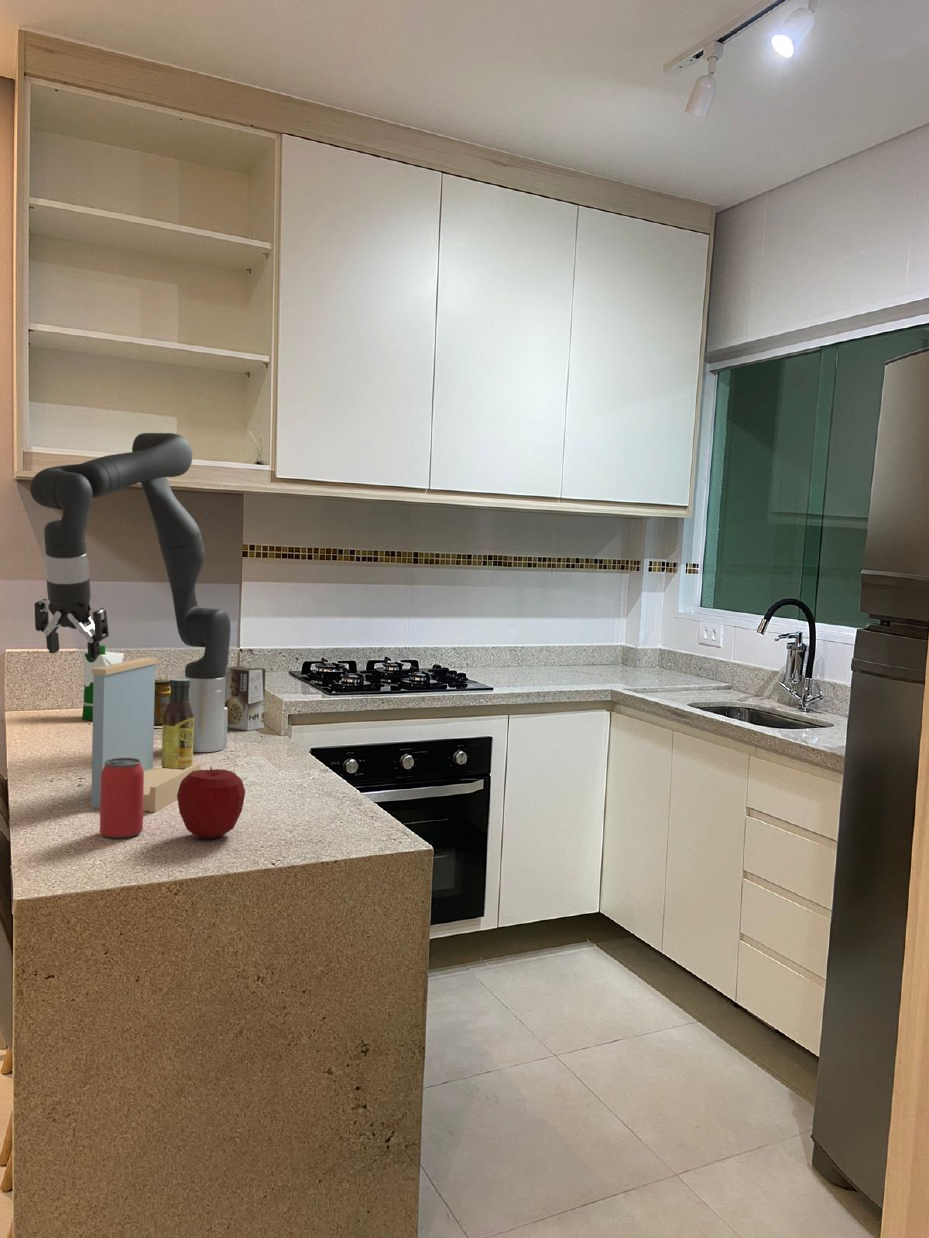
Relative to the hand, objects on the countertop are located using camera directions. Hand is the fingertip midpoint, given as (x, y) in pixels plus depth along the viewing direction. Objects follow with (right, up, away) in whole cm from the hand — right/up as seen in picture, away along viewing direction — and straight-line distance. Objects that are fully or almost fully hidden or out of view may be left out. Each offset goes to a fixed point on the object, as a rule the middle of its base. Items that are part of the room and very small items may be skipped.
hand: (73, 655), depth 179 cm
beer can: (+20, -28, -29) cm, 45 cm away
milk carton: (-22, -20, +70) cm, 76 cm away
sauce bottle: (+16, -25, +13) cm, 33 cm away
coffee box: (+17, -22, +67) cm, 73 cm away
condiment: (-5, -21, +64) cm, 68 cm away
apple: (+34, -29, -28) cm, 53 cm away
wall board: (+16, -26, -5) cm, 31 cm away
